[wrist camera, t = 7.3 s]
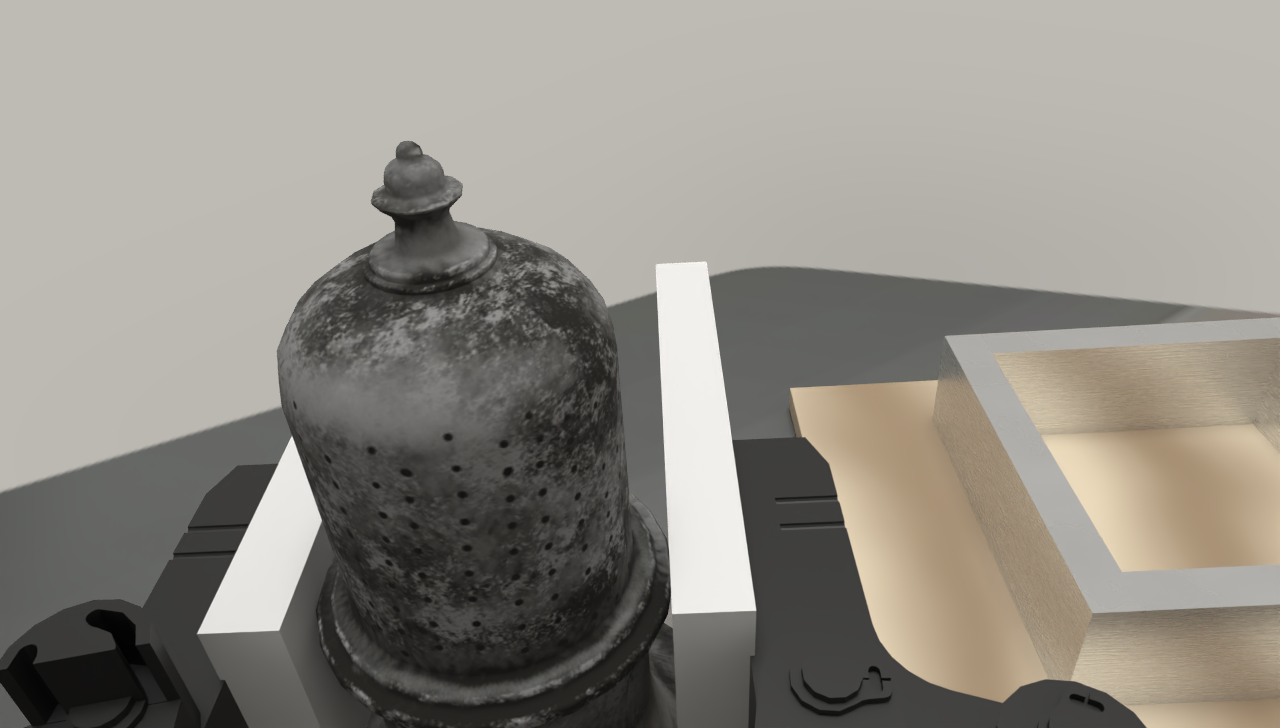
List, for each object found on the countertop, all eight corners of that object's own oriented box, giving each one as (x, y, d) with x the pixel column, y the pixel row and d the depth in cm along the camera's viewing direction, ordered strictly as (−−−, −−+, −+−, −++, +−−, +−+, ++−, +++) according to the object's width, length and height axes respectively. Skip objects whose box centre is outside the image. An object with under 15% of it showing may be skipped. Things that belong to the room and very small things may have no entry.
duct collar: (1061, 708, 19) (1092, 613, 18) (932, 419, 28) (944, 336, 26) (1546, 686, 19) (1624, 588, 17) (1268, 402, 27) (1303, 316, 26)
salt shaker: (530, 683, 17) (397, 10, 10) (829, 843, 14) (927, 72, 7) (277, 995, 13) (-231, 228, 6) (630, 1301, 10) (435, 538, 3)
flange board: (890, 829, 18) (894, 807, 18) (789, 408, 30) (790, 388, 29) (1822, 791, 18) (1850, 768, 17) (1350, 378, 29) (1360, 357, 29)
